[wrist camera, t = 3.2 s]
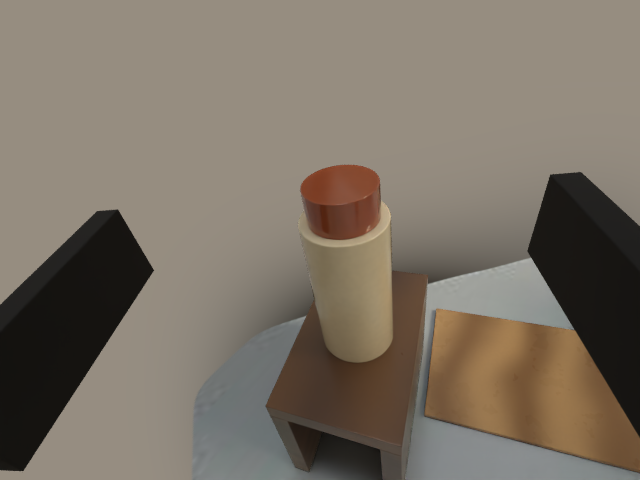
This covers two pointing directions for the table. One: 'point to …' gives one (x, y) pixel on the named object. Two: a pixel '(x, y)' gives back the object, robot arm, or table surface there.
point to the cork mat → (526, 388)
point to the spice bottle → (349, 260)
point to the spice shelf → (354, 387)
